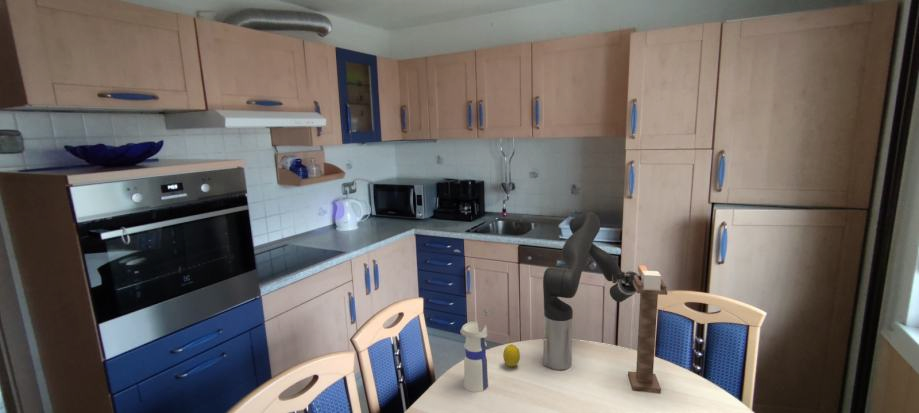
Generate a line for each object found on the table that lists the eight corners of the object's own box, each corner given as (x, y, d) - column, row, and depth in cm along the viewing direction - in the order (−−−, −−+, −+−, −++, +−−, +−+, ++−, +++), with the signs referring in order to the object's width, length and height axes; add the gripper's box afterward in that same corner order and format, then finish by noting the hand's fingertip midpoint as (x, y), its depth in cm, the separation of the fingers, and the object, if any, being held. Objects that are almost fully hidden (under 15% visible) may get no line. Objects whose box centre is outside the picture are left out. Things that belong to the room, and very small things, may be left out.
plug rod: (643, 289, 122) (644, 275, 122) (634, 270, 138) (634, 257, 137) (660, 290, 121) (661, 275, 121) (648, 271, 137) (649, 258, 136)
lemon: (519, 362, 145) (519, 340, 144) (520, 371, 140) (520, 348, 138) (503, 361, 146) (503, 340, 144) (503, 370, 140) (503, 348, 139)
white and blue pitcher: (471, 373, 139) (469, 301, 135) (494, 381, 134) (493, 307, 130) (457, 386, 133) (454, 311, 128) (480, 395, 128) (478, 317, 123)
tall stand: (632, 390, 128) (637, 285, 122) (628, 375, 136) (632, 275, 130) (660, 393, 126) (667, 286, 120) (654, 378, 134) (661, 277, 128)
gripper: (609, 272, 162) (614, 263, 148) (649, 274, 159) (658, 265, 144) (609, 292, 160) (615, 285, 145) (650, 294, 157) (660, 287, 142)
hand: (637, 275), depth 145 cm, fingers open, 8 cm apart
